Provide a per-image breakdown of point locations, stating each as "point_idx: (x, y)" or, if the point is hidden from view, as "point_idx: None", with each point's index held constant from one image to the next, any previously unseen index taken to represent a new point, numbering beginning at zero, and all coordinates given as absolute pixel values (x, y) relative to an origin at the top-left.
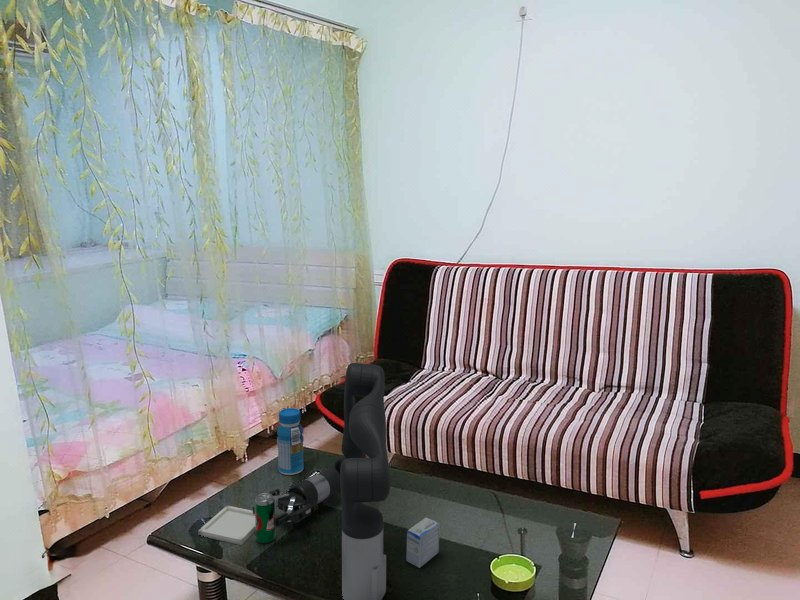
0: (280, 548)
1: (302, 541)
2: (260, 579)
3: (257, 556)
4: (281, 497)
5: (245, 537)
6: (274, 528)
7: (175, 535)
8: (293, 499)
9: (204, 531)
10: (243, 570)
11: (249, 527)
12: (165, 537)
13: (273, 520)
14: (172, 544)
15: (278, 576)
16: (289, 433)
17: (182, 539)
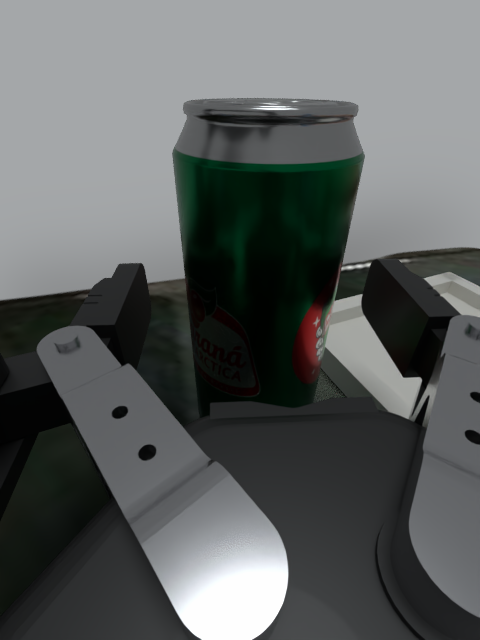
0: None
1: (16, 556)
2: (78, 292)
3: (176, 333)
4: (428, 435)
5: None
6: (199, 378)
7: (471, 265)
8: (168, 513)
9: (432, 277)
10: (160, 287)
11: (398, 395)
12: (469, 254)
13: (190, 317)
14: (421, 253)
15: (21, 321)
16: None
17: (438, 267)
